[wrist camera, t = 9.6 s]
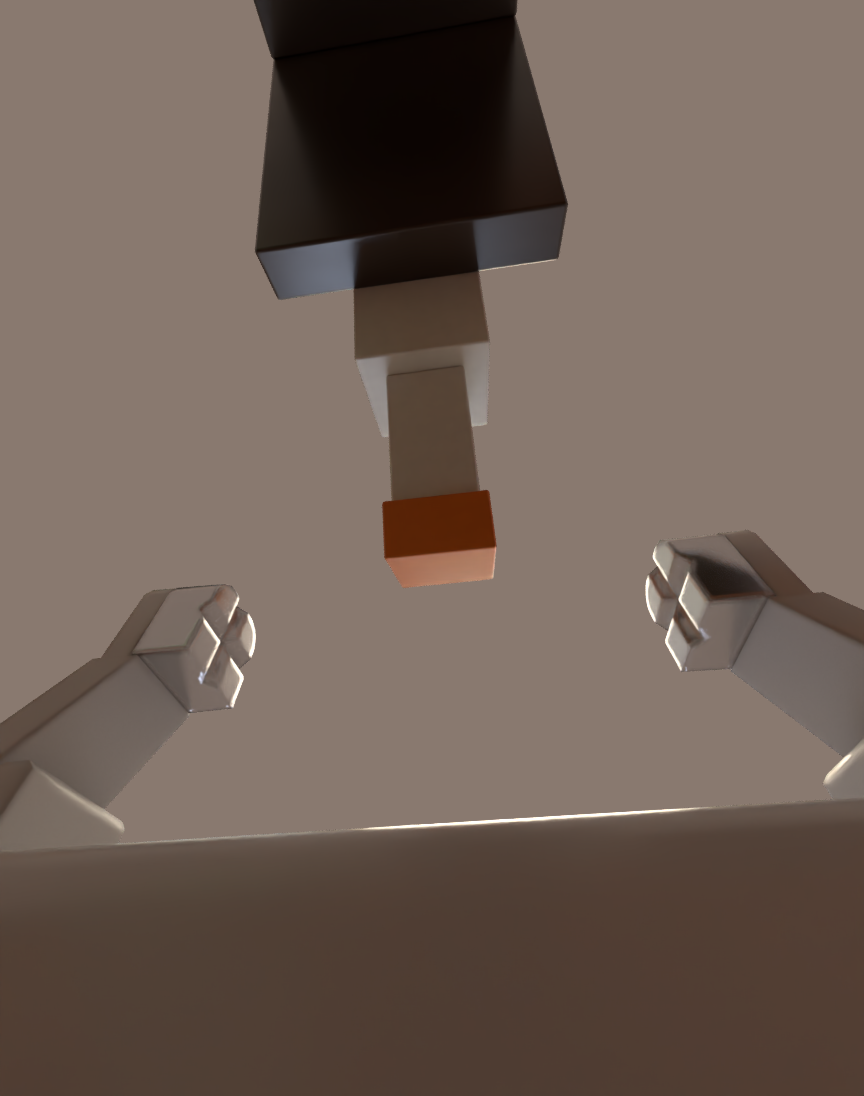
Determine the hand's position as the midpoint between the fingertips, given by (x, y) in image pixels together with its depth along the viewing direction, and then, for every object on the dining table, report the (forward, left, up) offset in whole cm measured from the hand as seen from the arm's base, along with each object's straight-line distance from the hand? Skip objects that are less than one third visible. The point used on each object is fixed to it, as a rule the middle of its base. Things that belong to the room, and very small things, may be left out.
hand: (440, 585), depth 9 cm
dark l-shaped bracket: (+14, +5, -24) cm, 29 cm away
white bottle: (+10, +3, +1) cm, 10 cm away
